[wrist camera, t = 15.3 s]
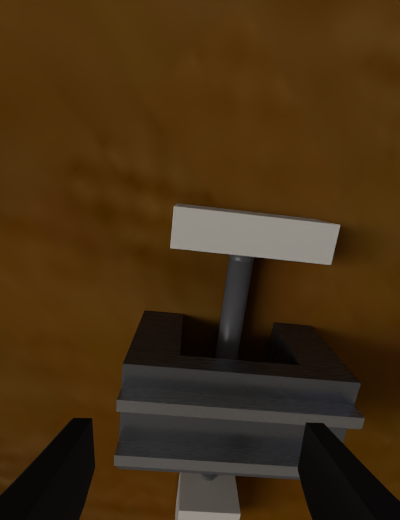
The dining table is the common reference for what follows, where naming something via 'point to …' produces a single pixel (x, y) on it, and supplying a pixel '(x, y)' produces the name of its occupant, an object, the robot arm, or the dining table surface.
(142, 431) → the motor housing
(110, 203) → the dining table surface
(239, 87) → the dining table surface
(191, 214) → the white ended gray rod
